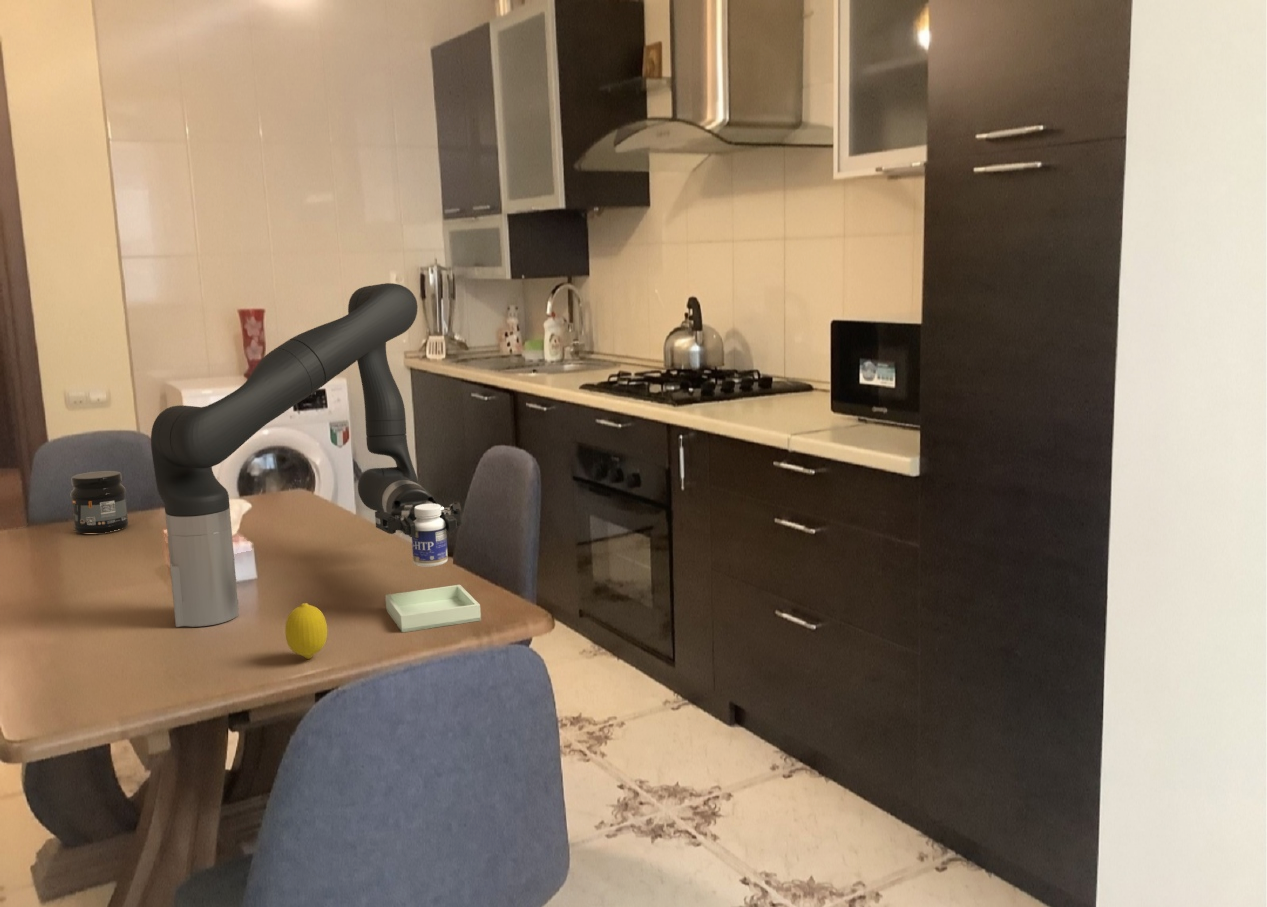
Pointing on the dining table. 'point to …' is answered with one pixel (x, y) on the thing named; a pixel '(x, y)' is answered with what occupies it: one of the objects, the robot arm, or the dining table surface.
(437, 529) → the pill bottle
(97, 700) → the dining table surface
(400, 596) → the tray
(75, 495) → the supplement container
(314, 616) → the lemon
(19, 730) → the dining table surface
